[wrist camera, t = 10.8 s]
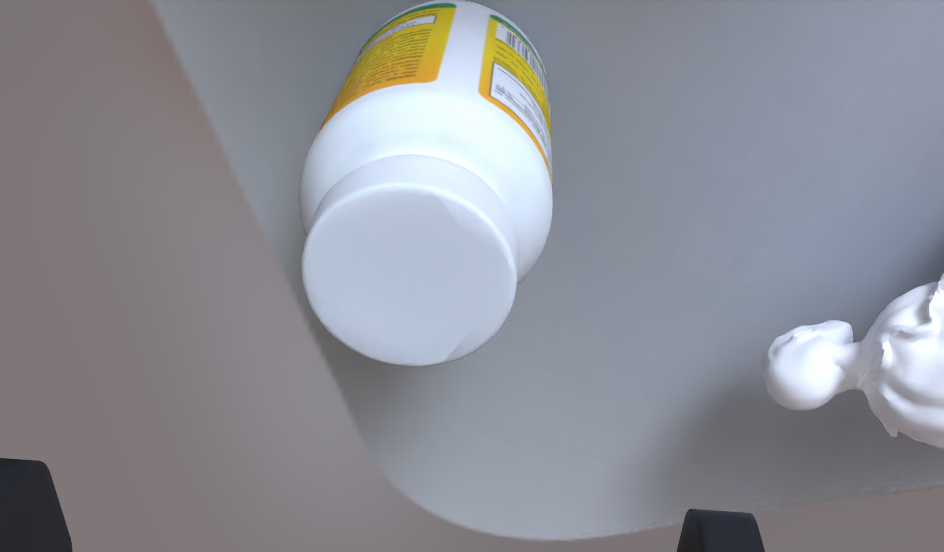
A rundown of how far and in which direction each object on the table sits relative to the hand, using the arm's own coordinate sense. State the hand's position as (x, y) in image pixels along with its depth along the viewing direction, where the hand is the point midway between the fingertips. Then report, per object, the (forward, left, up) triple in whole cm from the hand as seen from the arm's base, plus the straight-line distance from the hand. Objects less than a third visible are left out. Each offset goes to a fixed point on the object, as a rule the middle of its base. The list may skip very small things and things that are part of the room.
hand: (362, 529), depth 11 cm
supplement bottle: (0, 0, -16) cm, 16 cm away
